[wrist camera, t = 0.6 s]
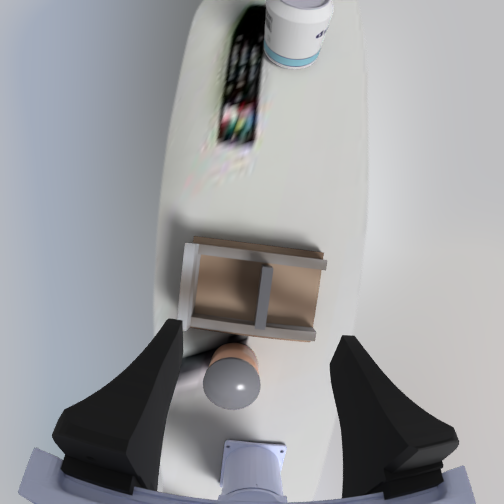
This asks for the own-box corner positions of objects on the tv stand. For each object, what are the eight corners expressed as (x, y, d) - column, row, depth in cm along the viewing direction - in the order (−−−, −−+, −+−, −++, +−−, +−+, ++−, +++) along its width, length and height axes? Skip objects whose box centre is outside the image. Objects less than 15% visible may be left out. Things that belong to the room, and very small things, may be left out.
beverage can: (311, 79, 34) (332, 21, 22) (257, 65, 33) (259, 3, 22) (321, 42, 33) (341, -17, 21) (270, 29, 33) (276, -33, 21)
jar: (255, 388, 34) (256, 412, 28) (208, 382, 34) (201, 405, 28) (261, 344, 34) (264, 363, 28) (212, 338, 34) (205, 356, 28)
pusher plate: (263, 320, 33) (265, 330, 29) (254, 319, 33) (254, 328, 29) (271, 265, 33) (273, 268, 29) (261, 264, 33) (262, 266, 29)
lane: (308, 339, 34) (317, 354, 29) (186, 324, 34) (175, 336, 29) (321, 252, 34) (333, 253, 29) (195, 236, 34) (186, 234, 29)
